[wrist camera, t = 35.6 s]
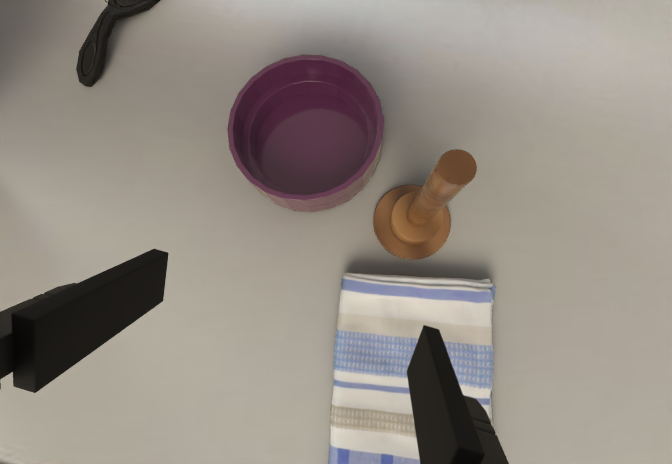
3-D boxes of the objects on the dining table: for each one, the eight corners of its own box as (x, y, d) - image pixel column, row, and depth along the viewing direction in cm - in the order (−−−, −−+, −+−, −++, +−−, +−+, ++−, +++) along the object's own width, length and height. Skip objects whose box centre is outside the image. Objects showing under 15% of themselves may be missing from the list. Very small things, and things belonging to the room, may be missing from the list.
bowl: (275, 235, 40) (261, 226, 34) (227, 119, 43) (206, 92, 37) (402, 178, 40) (410, 158, 34) (345, 66, 43) (343, 31, 37)
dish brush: (401, 253, 38) (439, 222, 20) (380, 213, 39) (399, 148, 21) (443, 234, 38) (518, 185, 20) (421, 194, 39) (474, 114, 21)
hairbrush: (43, 65, 43) (122, -93, 45) (68, 81, 47) (140, -66, 49) (95, 83, 42) (173, -79, 44) (117, 98, 46) (187, -52, 48)
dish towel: (492, 279, 37) (503, 279, 34) (491, 512, 33) (503, 532, 30) (341, 267, 38) (340, 265, 36) (323, 488, 34) (320, 506, 32)
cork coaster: (393, 272, 38) (394, 271, 37) (361, 204, 40) (361, 203, 39) (463, 240, 38) (464, 239, 37) (427, 174, 40) (428, 172, 39)
